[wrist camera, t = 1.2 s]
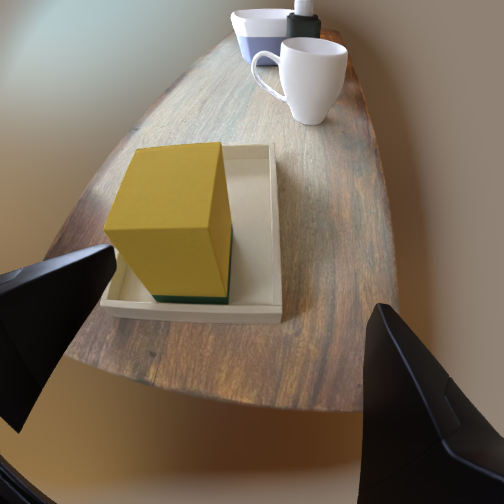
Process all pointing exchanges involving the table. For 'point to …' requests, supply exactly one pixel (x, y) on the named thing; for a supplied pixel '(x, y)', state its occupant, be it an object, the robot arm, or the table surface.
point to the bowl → (260, 32)
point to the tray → (243, 252)
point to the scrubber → (176, 223)
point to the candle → (303, 21)
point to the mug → (307, 76)
